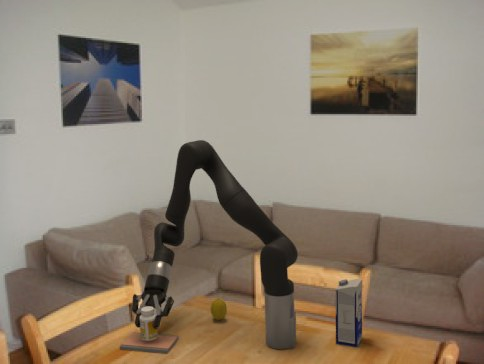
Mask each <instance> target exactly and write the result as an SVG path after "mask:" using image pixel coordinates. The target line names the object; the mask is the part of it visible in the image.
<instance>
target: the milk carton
mask: <svg viewBox="0 0 484 364" xmlns="http://www.w3.org/2000/svg"><path fill="white" fill-rule="evenodd" d="M334 295H335V296H334V297H335V345H339V346H340V345H341V346H346V347H353V348H358V347H359V345H360V343H361V341H362V339H363V278H358V279H357V278H354V279H349V280H348V279H341V280H339V281H338V286H337V287H335V294H334Z"/></svg>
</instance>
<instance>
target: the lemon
mask: <svg viewBox="0 0 484 364" xmlns="http://www.w3.org/2000/svg"><path fill="white" fill-rule="evenodd" d="M227 311H228V308H227V304H226V302H225V301H224V300H223V299H221V298H216V299H214V300H213V301H212V302H211V305H210V312H211V313H210V314H211V316H212V318H214V319H215V320H218V321H221V320H223V319H224V318H225V316H226V315H227Z"/></svg>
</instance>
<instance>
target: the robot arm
mask: <svg viewBox="0 0 484 364" xmlns="http://www.w3.org/2000/svg"><path fill="white" fill-rule="evenodd" d="M197 170H203V171H204V172H205V173H206V175H207V176H208V177H209V178H210V180H211V181H212V182H213V185H214V188H215V193H216V197H217V199H218V203H219V205H220V206H221V208H222V209H223V210H224V211H225V213H226V214H227V215H228V216H229V218H230V219H231V220H232V221H233V222H235V223H236V224H238V226H241V227H242V228H244V229H246V230H248V231H250V232H251V233H253V235H255V237H256V236H257V238H259V240H260V241H261V242H262V243H263V245H264V246H263V247H262V248H261V251H260V253H259V254H260V255H259V266H260V267H259V268H260V269H259V270H260V279H261V284H262V286H263V289H264V291H263V292H264V293H263V294H264V319H265V320H264V322H265V323H264V324H265V325H264V326H265V327H264V329H265V344H266V346H268V347H269V348H270V349H275V350H287V349H294V348H295V344H296V341H297V314H296V311H295V284H294V282H293V280H291V279H290V278H289V276H288V275H289V274H288V268H290V267H291V266H293V265H294V264H295V263H296V262H297V260H298V257H299V254H298V250H297V247H296V245H295V244H294V242H293V241H292V240H291V239H290V238H289V237H288V236H287V235H286V234H285V233H284V232H283V231H282V230H281V229H279V227H278V226H277V225H276V224H275V223H274V222H273V221H272V220H271V219H270V218H269V216H268V215H267V214H266V213H265V212H264V211H263V209H262V208H261V207H260V206H259V204H257V202H256V201H255V199H254V198H253V196H251V195H250V194H249V192H248V191H247V190H246V189H245V188H244V187H243V186H242V184H240V182H239V181H238V180H237V179H236V177H235V175H234V174H233V173H232V172H231V171H230V170H229V168H228V167H227V166H226V165H225V163H224V162H223V160H222V159H221V157H220V155H219V153H218V152H217V151H216V149H215V148H214V146H212V145H211V143H209V142H208V141H206V140H202V139H201V140H200V139H197V140H193V141H189V142H186V143H184V144H182V145H181V146H180V148H179V150H178V153H177V159H176V165H175V173H174V179H173V186H172V192H171V195H170V198H169V201H168V204H167V207H166V211H165V215H164V216H165V219H166V220H167V221H168V222H169V223H167V222H164V221H163V222H159V223H158V224H156V226H155V228H154V230H153V241H154V248H153V249H154V251H153V256H152V259H151V263H150V266H149V268H148V272H147V275H146V279H145V285H144V288H143V291H142V293H141V294H138V295H137V294H135V293H134V294H133V295H132V302H131V303H132V304H131V305H132V307H131V312H133V313H134V315H136V316H135V319H134V325H135V327H136V328H139V329H140V316H141V315H142V314H141V309H142V308H143V307H147V306H151V307H153V308H154V309H155V310H156V317H155V321H154V325H153V327H154V329H158V328H160V326H161V321H162V319H163V317H169V314H170V312H171V310H172V307H173V305H174V303H175V299H174V298H173V297H172V296H167V292H168V290H169V289H168V288H169V284H170V280H171V278H172V277H171V276H172V268H173V264H174V259H175V256H176V255H175V252H174V250H173V249H171V248H169V247H167V246H172V247H179V246H182V244H183V242H184V241H185V223H186V218H187V215H188V211H189V209H190V206H191V201H192V197H191V188H190V187H191V181H192V178H193V176H194V174H195V172H196V171H197ZM166 245H167V246H166ZM141 300H142V302H141ZM140 302H141V303H140ZM164 302H165V304H164V307H162V305H163V303H164ZM139 303H140V305H139Z"/></svg>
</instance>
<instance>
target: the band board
mask: <svg viewBox="0 0 484 364" xmlns="http://www.w3.org/2000/svg"><path fill="white" fill-rule="evenodd" d="M179 337H180V336H179V335H170V334H159V333H158V337H157V338H156V339H154V340H150V341H145V340H143V339H142V338H141V332H132V333H130V334H129V336H127V337H126V338H125V340H123V342H122V343H121V344H120V345H119V350H123V351H134V352H145V353H146V352H147V353H158V354H168V353H169V352H170V351H171V349H173V347H174V346H175V345H176V343H177V342H178V341H179Z"/></svg>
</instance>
